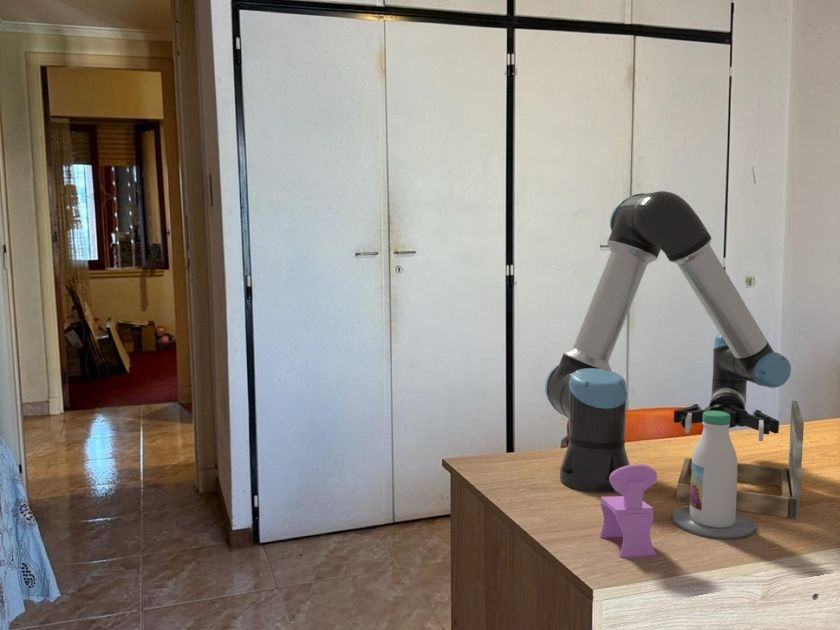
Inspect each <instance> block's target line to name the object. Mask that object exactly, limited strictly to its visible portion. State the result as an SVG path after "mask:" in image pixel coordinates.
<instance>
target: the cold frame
mask: <svg viewBox="0 0 840 630" xmlns="http://www.w3.org/2000/svg"><path fill="white" fill-rule="evenodd" d="M790 410H791V411H790V412H791V413H790V427H789V428H790V430H789V432H790V433H789V446H788V447H789V450H788V467H777V466H770V465H760V464H752V463H743V462H737V481H744V482H752V483H759V482H760V483H761V484H767V483H768V484H769V485H775V484H777V485H778V486H779V490H780V495H776V494H767V493H759V492H752V491H744V490H737V495H736V511H741V510H742V512H750V513H757V514H762V515H763V514H765V515H771V516H780V517H785V518H786V517H787V518H794V519H800V518H799V517H800V505H801V504H800V503H801V502H800V501H801V499H800V498H801V484H802V483H801V481H802V466H803V464H802V463H803V444H804V429H805V428H804V427H805V423H804V420H803V415H802V413H801V409H800V405H799V402H798V401H797V400H791V409H790ZM682 463H683V464H682V467H681V471H680V474H679V478H678V481H677V486H676V487H677V488H676V502H677V503H682V504H683V503H684V504H690V491H691V483H690V484H688V481H689V476H690V475H691V469H692V457H690V456H685V457H684V461H683V462H682Z"/></svg>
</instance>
